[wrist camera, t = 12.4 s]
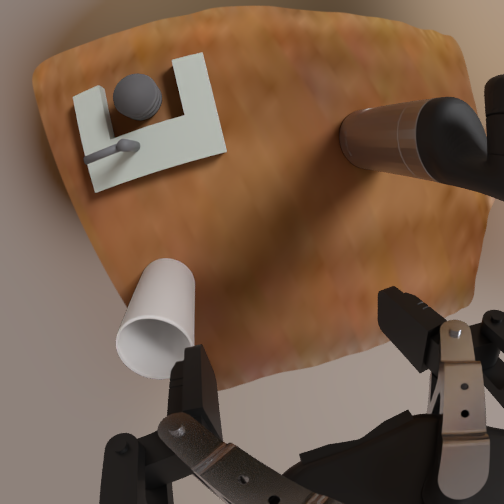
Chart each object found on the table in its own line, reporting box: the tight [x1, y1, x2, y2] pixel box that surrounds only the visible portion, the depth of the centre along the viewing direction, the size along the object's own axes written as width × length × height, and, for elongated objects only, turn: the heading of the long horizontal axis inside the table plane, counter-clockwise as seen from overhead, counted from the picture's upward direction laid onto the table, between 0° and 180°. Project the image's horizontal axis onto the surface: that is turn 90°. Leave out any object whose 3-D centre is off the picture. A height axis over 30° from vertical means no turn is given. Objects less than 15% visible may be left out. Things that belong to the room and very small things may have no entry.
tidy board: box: [73, 52, 227, 193], centre depth 30 cm, size 18×14×8 cm
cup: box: [116, 258, 195, 380], centre depth 34 cm, size 8×8×16 cm
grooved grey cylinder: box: [113, 74, 162, 120], centre depth 30 cm, size 5×5×6 cm
